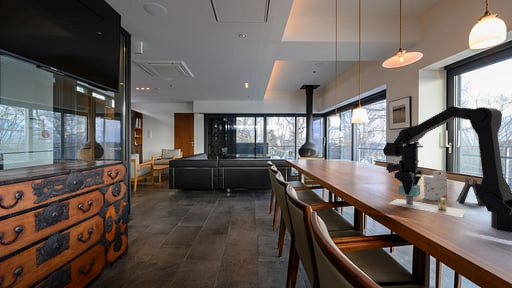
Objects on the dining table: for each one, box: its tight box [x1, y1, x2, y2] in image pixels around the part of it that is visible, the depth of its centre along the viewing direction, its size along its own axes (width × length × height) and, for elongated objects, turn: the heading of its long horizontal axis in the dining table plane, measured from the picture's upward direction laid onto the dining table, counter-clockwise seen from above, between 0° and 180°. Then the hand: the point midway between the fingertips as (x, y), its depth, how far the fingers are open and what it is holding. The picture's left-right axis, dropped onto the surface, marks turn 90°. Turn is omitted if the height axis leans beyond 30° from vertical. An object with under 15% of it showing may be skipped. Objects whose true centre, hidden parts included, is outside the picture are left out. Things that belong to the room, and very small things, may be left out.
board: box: [388, 195, 467, 218], centre depth 91 cm, size 12×24×6 cm, turn 41°
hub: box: [437, 198, 448, 211], centre depth 87 cm, size 3×3×4 cm
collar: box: [398, 183, 421, 198], centre depth 95 cm, size 6×6×4 cm
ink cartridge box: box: [423, 169, 448, 201], centre depth 103 cm, size 9×5×15 cm, turn 105°
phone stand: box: [456, 176, 486, 207], centre depth 95 cm, size 9×6×12 cm, turn 53°
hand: (409, 193), depth 95 cm, fingers closed on collar, 6 cm apart
